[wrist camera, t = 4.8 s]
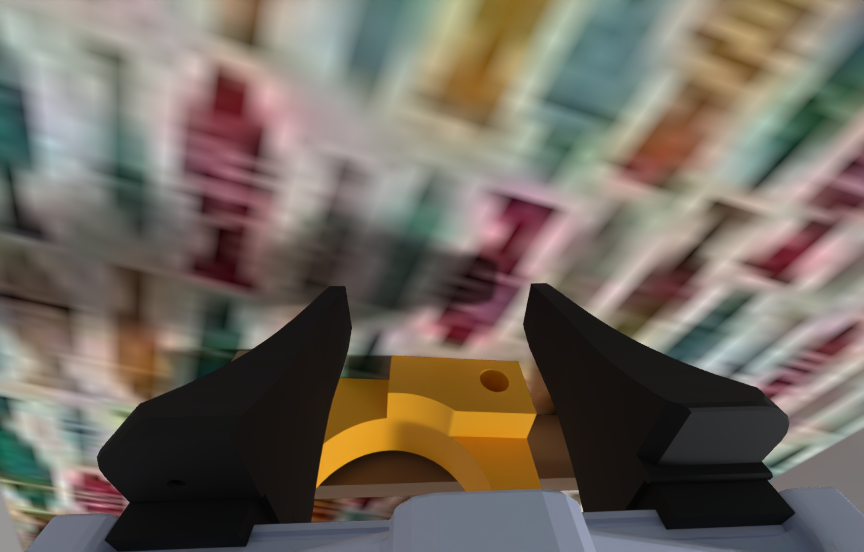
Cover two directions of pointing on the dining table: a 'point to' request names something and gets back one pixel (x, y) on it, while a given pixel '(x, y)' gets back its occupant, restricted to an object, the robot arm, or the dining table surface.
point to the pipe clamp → (439, 420)
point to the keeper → (425, 476)
